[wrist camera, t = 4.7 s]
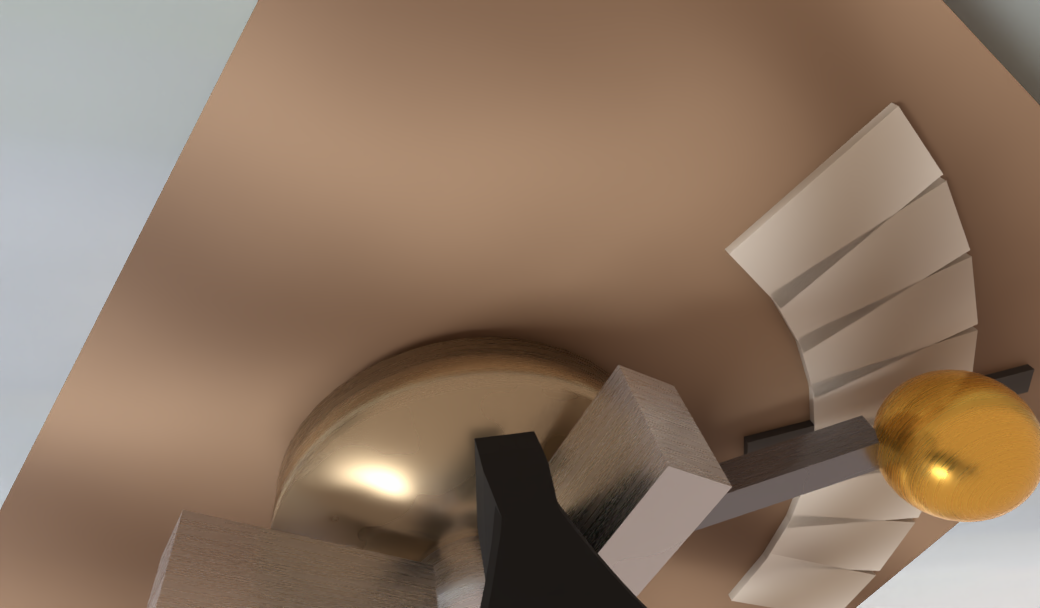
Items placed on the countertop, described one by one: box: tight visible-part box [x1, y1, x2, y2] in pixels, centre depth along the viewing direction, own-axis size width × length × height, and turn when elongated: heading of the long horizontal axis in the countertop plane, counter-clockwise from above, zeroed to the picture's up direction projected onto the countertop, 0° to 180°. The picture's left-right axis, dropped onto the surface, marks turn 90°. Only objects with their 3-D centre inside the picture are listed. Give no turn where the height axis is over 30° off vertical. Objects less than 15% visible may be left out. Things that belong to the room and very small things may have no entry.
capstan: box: [147, 337, 1040, 608], centre depth 14 cm, size 15×15×4 cm
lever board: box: [0, 0, 1040, 608], centre depth 17 cm, size 21×21×2 cm
